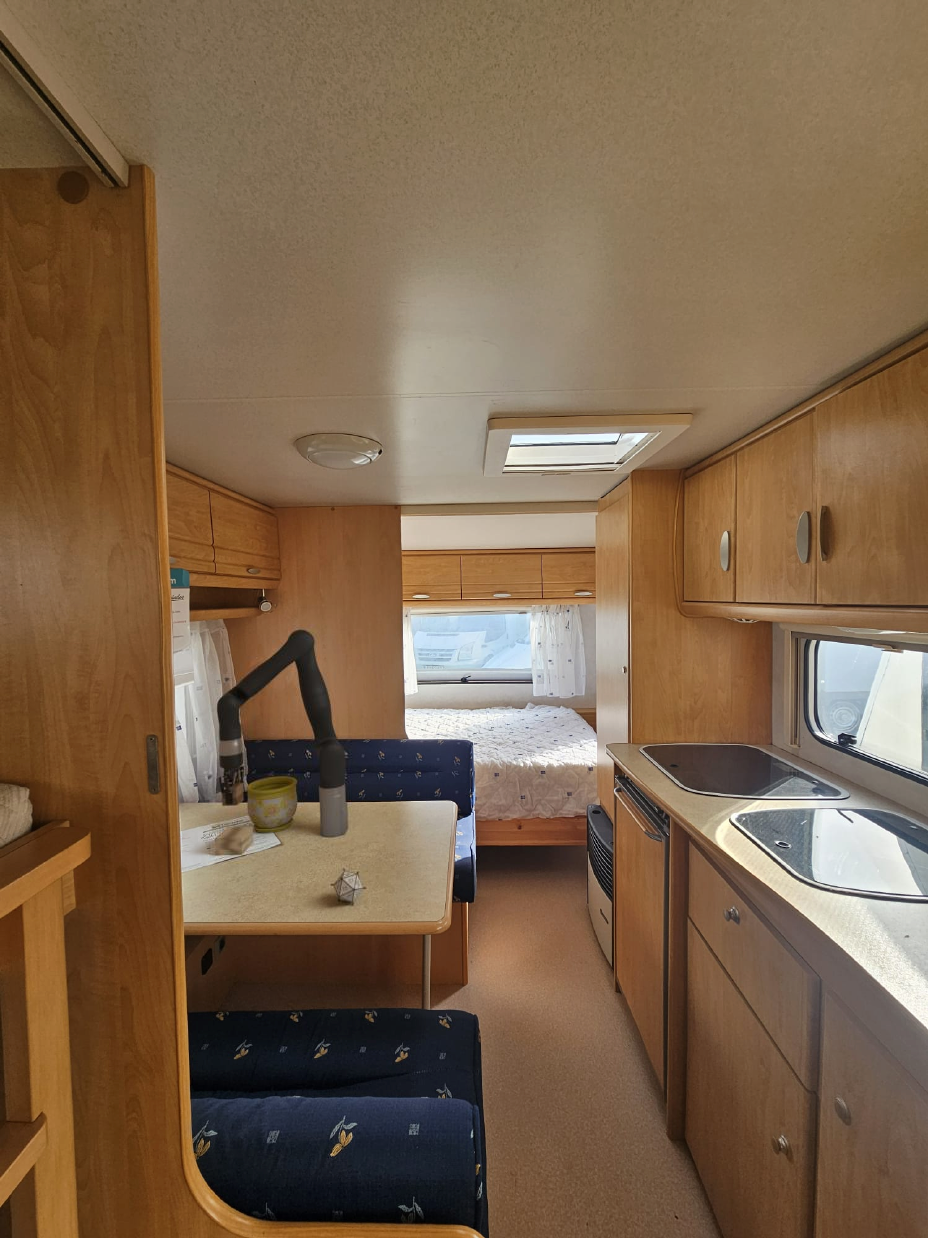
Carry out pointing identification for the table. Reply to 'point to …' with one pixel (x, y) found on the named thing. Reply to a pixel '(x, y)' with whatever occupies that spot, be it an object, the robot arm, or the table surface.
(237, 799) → the walnut block
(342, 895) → the game die
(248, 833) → the oak box
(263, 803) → the flowerpot
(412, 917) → the table surface
